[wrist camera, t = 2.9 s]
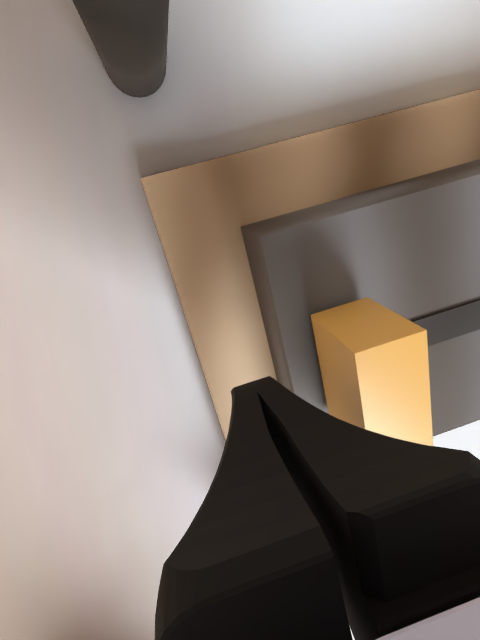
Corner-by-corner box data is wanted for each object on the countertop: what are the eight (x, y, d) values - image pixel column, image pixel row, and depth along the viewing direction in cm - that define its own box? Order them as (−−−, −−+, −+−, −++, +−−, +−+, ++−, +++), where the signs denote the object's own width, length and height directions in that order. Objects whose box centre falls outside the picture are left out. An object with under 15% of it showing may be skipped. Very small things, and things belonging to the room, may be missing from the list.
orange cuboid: (367, 297, 12) (426, 329, 10) (380, 405, 14) (433, 459, 11) (310, 314, 12) (354, 353, 9) (330, 422, 14) (372, 482, 11)
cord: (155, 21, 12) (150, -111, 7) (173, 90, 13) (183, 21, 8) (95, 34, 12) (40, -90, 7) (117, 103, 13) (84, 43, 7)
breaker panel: (501, 84, 15) (613, 51, 11) (494, 388, 21) (567, 433, 17) (141, 178, 14) (134, 176, 10) (238, 477, 19) (257, 548, 16)
